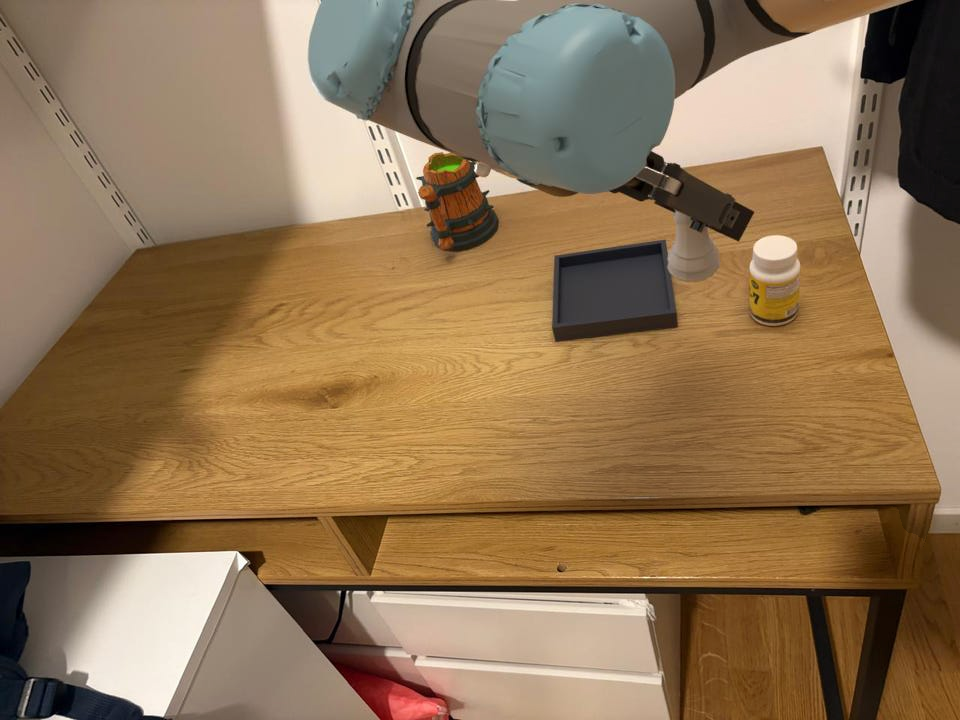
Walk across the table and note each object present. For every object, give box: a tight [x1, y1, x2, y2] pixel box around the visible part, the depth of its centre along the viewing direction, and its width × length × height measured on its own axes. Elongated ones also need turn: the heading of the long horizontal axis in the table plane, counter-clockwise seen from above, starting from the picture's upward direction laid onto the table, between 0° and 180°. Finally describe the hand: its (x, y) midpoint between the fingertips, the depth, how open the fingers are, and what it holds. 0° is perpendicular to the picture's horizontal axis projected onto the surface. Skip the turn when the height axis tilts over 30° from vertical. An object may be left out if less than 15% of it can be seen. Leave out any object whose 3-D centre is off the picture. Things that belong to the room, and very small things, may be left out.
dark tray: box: [551, 239, 679, 342], centre depth 85 cm, size 13×13×2 cm
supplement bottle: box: [748, 234, 801, 327], centre depth 74 cm, size 5×5×8 cm
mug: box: [415, 151, 500, 252], centre depth 98 cm, size 13×10×12 cm
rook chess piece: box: [667, 210, 721, 283], centre depth 62 cm, size 4×4×8 cm
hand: (724, 217), depth 64 cm, fingers closed on rook chess piece, 3 cm apart
